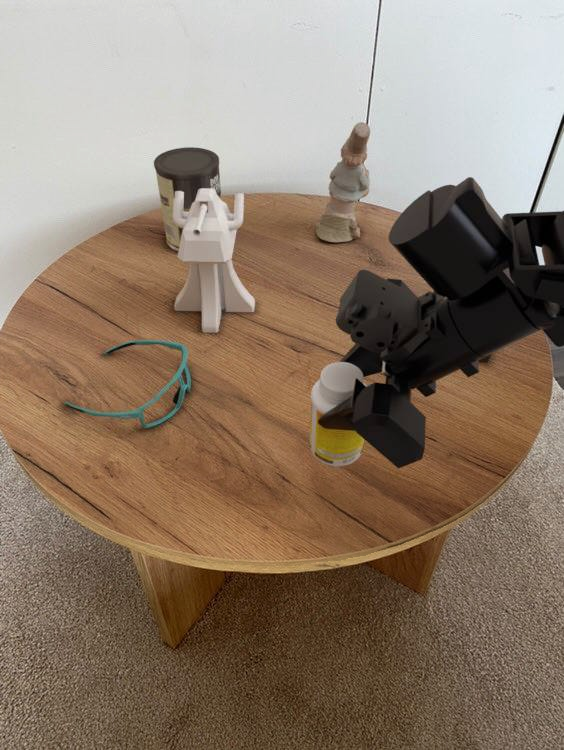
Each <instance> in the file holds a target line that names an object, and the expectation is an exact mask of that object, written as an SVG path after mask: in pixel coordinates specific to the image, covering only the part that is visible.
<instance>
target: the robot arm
mask: <svg viewBox="0 0 564 750" xmlns="http://www.w3.org/2000/svg"><path fill="white" fill-rule="evenodd" d="M387 240H388V242H389V243H390V245H391V246H393V248H394V249H395V250H396V251H397V252H398V253H399V254H400V255H401V257H402V258H404V260H405V261H406V262H407V263H408V264H409V265H410V266H411V267H412V268H413V270H414V271H415V272H416V273H417V274H418V275H419V276H420V277H421V279H423V280H424V281H425V282H426V284H427V285H428V286H429V288H431V289H432V290H433V292H432V291H431V290H429V291H427V292H425V293H424V294H422V295H420V296H417V295H416V293H414V291H412V289H410V287H408V285H407V284H406V283H405V282H404V281H403V280H402V279H395V278H384V277H382V276H380V275H378V274H376V273H374V272H372V271H370V270H368V269H360V270H358V272H357V273H356V275H355V276H354V277H353V279H352V280H351V282H350V283H349V284H348V286H347V288H346V289H345V291H344V292H343V294H342V295H341V297H340V299H339V305H338V310H337V311H338V312H337V314H336V316H335V324H336V326H337V327H338V329H339V330H341V331H342V332H343V333H345V334H347V335H350V339H351V341H352V343H354V345H353V346H352V347H351V348H349V350H348V352H347V353H346V354H344V356H343V357H342V358H341V359H340V360H339V362H347V363H350V364H353V365H355V366H356V367H358V368H359V369H360V370H361V371H362V373H363V377H364V378H366V377H370V376H372V375H376V374H379V373H382V374H383V376H384V377H385V380H384V381H385V382H384V383H383V382H375V381H374V382H373V383H371V384H369V385H366V384H365V383H364V382H363V383H364V384H365V385H366V386H367V387H366V386H365V385H364V384H363V383H362V382H361V381H359V380H358V379H357V378H356V379H355V383H354V389H353V395H352V396H351V397H349V398H348V399H346V400H345V401H343V402H342V403H340V404H339V405H337V406H336V407H334V408H333V409H331V410H330V411H328V412H327V413H325V414H324V415H323V416H322V417H320V418H319V419H318V424H319V425H320V426H322V427H323V428H324V429H335V430H349V431H356V433H358V434H359V435H360V436H361V437H362V438H363V439H365V442H366V443H368V444H369V445H370V446H371V447H372V448H374V449H375V450H376V451H377V452H378V453H379V454H381V455H382V456H383V457H384V458H385V459H386V460H388V462H390V463H391V464H392V465H394V466H395V467H396V468H397V469H402V468H405V467H406V466H409V465H412V464H414V463H416V462H418V461H422V460H423V457H424V453H425V450H426V425H427V424H426V423H427V422H426V419H427V417H426V415H425V414H423V413H422V411H420V410H419V409H418V407H416V406H415V405H414V404H413V403H412V401H411V400H412V390H415V389H416V390H417V391H418V392H419V393H420V394H421V395H423V396H424V397H425V398H428V397H430V396H432V395H434V394H436V393H437V381H439V380H441V379H443V378H445V377H447V376H449V375H451V374H453V373H456V372H458V371H459V370H460V371H461V372H462V373H463V374H464V375H465V376H466V377H467V378H470V377H472V376H475V375H477V374H478V373H480V364H479V363H480V361H479V360H480V359H482V358H484V357H486V356H488V355H490V354H491V355H492V354H494V353H496V352H499V351H500V350H502V349H504V348H506V347H509V346H510V345H512V344H514V343H517V342H518V341H521V340H523V339H525V338H527V337H529V336H531V335H533V334H535V333H537V332H539V331H542V332H543V333H544V334H545V335H546V337H548V339H549V340H550V341H551V342H552V343H553V345H554V346H556V347H557V348H562V347H564V210H561V211H560V210H559V211H537V212H536V211H535V212H510V213H508V212H507V213H504V214H503V216H502V217H501V216H500V215H499V214H498V213H497V211H496V210H495V209H494V207H493V206H492V205H491V204H490V202H489V201H488V199H487V197H486V196H485V193H484V190H483V189H482V187H481V186H480V185H479V183H478V182H477V181H476V179H475V178H474V177H472V176H468V177H466V178H465V179H464V180H463V181H460V183H458V184H456V185H454V184H446V185H443V186H440V187H437V188H435V189H433V190H432V191H431V190H427V191H425V192H424V193H422V194H421V195H420V196H418V197H417V198H416V199H415V200H413V201H412V202H411V203H410V204H409V205H408V206H406V208H405V209H404V210H403V211H402V212H401V213H400V215H399V216H398V217H397V219H396V220H395V221H394V223H393V225H392V227H391V228H390V230H389V233H388V239H387ZM537 247H538V248H541V254H542V258H543V259H542V260H543V263H544V264H540V260H539V257H538V251H537ZM434 291H435V292H434ZM443 296H446V297H444V298H443Z"/></svg>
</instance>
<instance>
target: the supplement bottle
mask: <svg viewBox="0 0 564 750" xmlns="http://www.w3.org/2000/svg"><path fill="white" fill-rule="evenodd" d="M319 377H320V378H319V379H318V380H317V381H316V382H315V383H314V384H313V386H312V389H311V392H310V404H309V405H310V407H309V408H310V411H309V449H310V451H311V453H312V455H313V456H314V458H316V459H317V460H318V461H319V462H321V463H322V464H325V465H327V466H331V467H346V466H349V465H351V464H353V463H355V462H356V461H358V459H360V457H361V455H363V452H364V446H365V442H366V440H365V439H363V438H362V437H361V436H360V435H359V434H358V433H356V431H349V430H335V429H324V428H323V427H322V426H320V425H319V424H318V419H319V418H320V417H322V416H323V415H324V414H325V413H327V412H328V411H330V410H331V409H333V408H334V407H336V406H337V405H339V404H340V403H342V402H343V401H345V400H346V399H348V398H349V397H351V396H352V395H353V389H354V383H355V379H356V378H357V379H358V380H359V381H361V382H362V383H363V384H364V385H365V386H366V387H367V386H368V385H366V384H365V382H364V380H365V379H364V378H365V377H363V373H362V371H361V370H360V369H359V368H358V367H356V366H355V365H353V364H350V363H347V362H340V361H336V362H332V363H329V364H327V365H326V366H324V367H323V369H322V370H321V372H320V376H319Z"/></svg>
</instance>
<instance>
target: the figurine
mask: <svg viewBox="0 0 564 750" xmlns="http://www.w3.org/2000/svg"><path fill="white" fill-rule="evenodd" d="M370 136H371V127H370V126H369V124H368V123H365V122H357V123H356V124H355V125H354V126H353V128H352V130H351V133H350V135H349V136H348V137H347V139H346V141H345V142H344V143H343V145H342V147H341V148H340V158H341V161H338V162H337V163H336V165H335V166H334V167H333V169H332V170H331V171H330V174H329V179H330V182H329V184H328V195H329V196H330V199H329V201H328V202H327V204H326V207H325V210H324V213H322V214H321V218H319V219H318V220H317V221H316V222H315V224H314V228H315V233H316V236H317V237H318V238H319V239H321V240H323V241H325V242H330V243H345V242H351V241H352V240H354V239H359V238H360V237H361V227H360V226H358V223H357V221H356V220H357V217H356V213H355V206H356V202H357V201H359V200H361V199H363V198H365V197H366V196H368V195H369V193H370V184H371V183H370V181H371V179H370V170H369V169H367V167H366V165H365V164H364V162H365V161H366V160H367V159H368V153H367V152H368V142H369V139H370Z"/></svg>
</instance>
